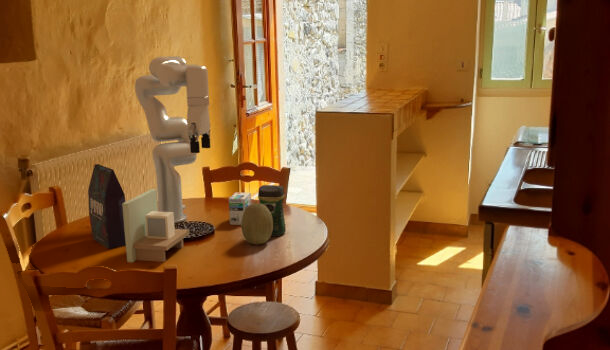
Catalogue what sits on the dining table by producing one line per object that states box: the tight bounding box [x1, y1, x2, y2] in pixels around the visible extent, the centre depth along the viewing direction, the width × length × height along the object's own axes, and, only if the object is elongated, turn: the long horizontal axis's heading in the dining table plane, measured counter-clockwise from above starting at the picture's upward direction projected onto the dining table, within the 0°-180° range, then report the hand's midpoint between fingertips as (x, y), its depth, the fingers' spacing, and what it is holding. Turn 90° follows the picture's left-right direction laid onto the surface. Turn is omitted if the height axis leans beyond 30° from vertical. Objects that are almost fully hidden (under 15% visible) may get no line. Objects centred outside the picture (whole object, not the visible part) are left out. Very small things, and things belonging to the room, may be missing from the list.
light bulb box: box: [228, 191, 252, 226], centre depth 240 cm, size 11×7×11 cm, turn 171°
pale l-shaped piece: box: [122, 188, 190, 263], centre depth 203 cm, size 20×14×20 cm
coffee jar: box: [257, 184, 287, 237], centre depth 223 cm, size 10×8×19 cm
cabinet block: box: [145, 211, 176, 239], centre depth 204 cm, size 5×8×8 cm, turn 77°
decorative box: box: [87, 163, 126, 250], centre depth 216 cm, size 8×16×28 cm, turn 41°
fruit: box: [240, 202, 273, 246], centre depth 212 cm, size 11×11×15 cm
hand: (200, 150), depth 211 cm, fingers open, 9 cm apart
